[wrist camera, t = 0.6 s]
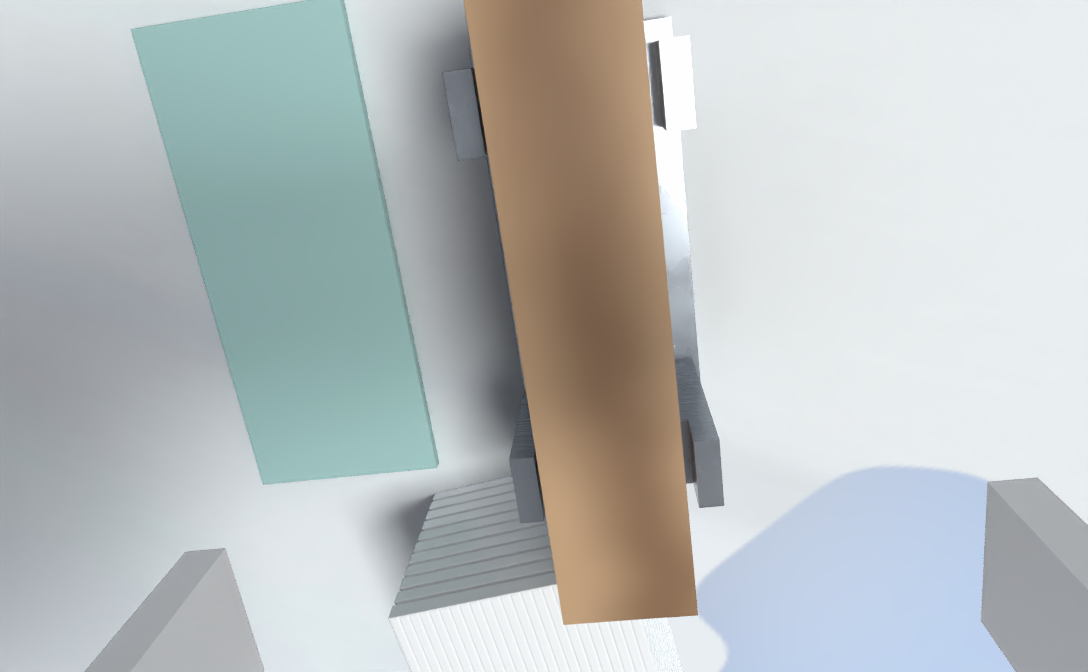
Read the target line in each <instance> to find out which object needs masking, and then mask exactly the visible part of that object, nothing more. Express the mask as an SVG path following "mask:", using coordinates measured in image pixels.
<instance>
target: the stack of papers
mask: <svg viewBox="0 0 1088 672" xmlns="http://www.w3.org/2000/svg"><path fill="white" fill-rule="evenodd" d="M429 510H430V511H429V512H428V514H427V516H426V521H425V522H424V524H423V527H422V531H423V532H420V535H419V538H418V543H416V546H415V548H414V554H412V556H411V559H410V562H409V564H410V566H408V567H407V570H406V572H405V575H404V576H405V579H403V580H402V583H401V586H400V591H401V592H398V594H397V597H396V599H395V602H394V603H395V605H396V606H393V607H392V610H391V613H390V615H389V618H388V619H389V622H390V624H391V626H392V629H393V631H394V633H395V636H396V638H397V640H398V643H399V645H400V647H401V650H402V652H403V655H404V657H405V659H406V662H407V664H408V666H409V669H410V671H411V672H683V670H682V666H681V663H680V659H679V656H678V652H677V649H676V646H675V642H674V639H673V635H672V632H671V628H670V625H669V621H668V618H653V619H639V620H625V621H612V622H598V623H584V624H570V625H563V620H562V613H561V607H560V601H559V595H558V588H557V582H556V576H555V570H554V563H553V557H552V551H551V545H550V538H549V532H548V526H547V520H546V513H545V517H544V521H543V522H531V523H520V518H519V513H518V507H517V501H516V495H515V489H514V484H513V478H512V476H508V477H504V478H500V479H495V480H491V481H487V482H482V483H478V484H474V485H469V486H465V487H461V488H456V489H452V490H448V491H443V492H439V493H435V495H434V497H433V502H432V503H431V506H430V508H429Z"/></svg>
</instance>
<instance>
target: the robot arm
mask: <svg viewBox="0 0 1088 672" xmlns="http://www.w3.org/2000/svg"><path fill="white" fill-rule="evenodd" d="M986 506H987V507H986V526H985V548H984V549H985V550H984V569H983V589H982V611H981V622H982V623H983V624H984V626H985V628H986V629H987V630H988V632H989V633H990V635H991V636H992V638H993V639H994V641H995V642H996V644H997V645H998V646H999V648H1000V649H1001V650H1002V652H1003V654H1004V655H1005V657H1006V658H1007V660H1008V661H1009V663H1010V664H1011V665H1012V667H1013V668H1014V670H1015V671H1016V672H1088V525H1087V524H1086V523H1085V522H1084V521H1083V520H1082V519H1081V518H1080V517H1079V516H1078V515H1076V514H1075V513H1074V512H1073V511H1072V510H1071V509H1070V508H1069V507H1068V506H1067V505H1066V504H1065V503H1064V502H1063V501H1062V500H1061V499H1060V498H1059V497H1057V496H1056V495H1055V494H1054V493H1053V492H1052V491H1051V490H1050V489H1049V488H1048V487H1047V486H1046V485H1045V484H1044V483H1043V482H1042V481H1041V480H1039V479H1038V478H1027V479H1015V480H1004V481H992V482H988V484H987V505H986ZM85 672H264V667H263V664H262V661H261V658H260V655H259V652H258V649H257V646H256V642H255V639H254V636H253V633H252V630H251V627H250V624H249V621H248V617H247V614H246V611H245V608H244V605H243V602H242V599H241V596H240V593H239V589H238V586H237V583H236V580H235V577H234V574H233V571H232V568H231V564H230V561H229V558H228V555H227V552H226V549H225V548H223V549H212V550H200V551H189V552H185V553H184V554H183V555H182V557H181V558H180V559H179V560H178V561H177V563H176V564H175V565H174V566H173V567H172V568H171V570H170V571H169V572H168V573H167V574H166V576H165V577H164V578H163V579H162V580H161V582H160V583H159V584H158V585H157V586H156V587H155V589H154V590H153V591H152V592H151V593H150V595H149V596H148V597H147V598H146V599H145V601H144V602H143V603H142V604H141V605H140V606H139V608H138V609H137V610H136V611H135V612H134V614H133V615H132V616H131V617H130V618H129V620H128V621H127V622H126V623H125V624H124V625H123V627H122V628H121V629H120V630H119V631H118V633H117V634H116V635H115V636H114V637H113V639H112V640H111V641H110V642H109V643H108V644H107V646H106V647H105V648H104V649H103V650H102V652H101V653H100V654H99V655H98V656H97V658H96V659H95V660H94V661H93V662H92V663H91V665H90V666H89V667H88V668H87V669H86V671H85Z"/></svg>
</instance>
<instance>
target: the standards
mask: <svg viewBox="0 0 1088 672" xmlns="http://www.w3.org/2000/svg"><path fill="white" fill-rule="evenodd" d="M644 31H645V42H646V53H647V64H648V75H649V86H650V96H651V107H652V118H653V129H654V140H655V151H656V162H657V173H658V184H659V195H660V206H661V217H662V228H663V239H664V250H665V261H666V272H667V283H668V293H669V304H670V315H671V326H672V337H673V348H674V359H675V370H676V381H677V392H678V403H679V414H680V425H681V436H682V447H683V458H684V469H685V479H686V483H694V487H695V492H696V496H697V500H698V504H699V508H704V507H715V506H724V497H723V484H722V470H721V457H720V443H719V437H718V434H717V431H716V428H715V425H714V422H713V419H712V416H711V413H710V410H709V407H708V404H707V401H706V398H705V395H704V392H703V389H702V386H701V383H700V372H699V360H698V347H697V335H696V323H695V310H694V298H693V285H692V273H691V261H690V248H689V236H688V223H687V211H686V199H685V186H684V174H683V162H682V149H681V137H680V130H685V129H693V128H696V119H695V106H694V92H693V79H692V65H691V52H690V38H689V36H683V37H676V38H672V25H671V17H667V18H660V19H653V20H647V21H644ZM469 51H470V57H471V63H472V68H469V69H462V70H456V71H449V72H443V78H444V84H445V90H446V96H447V101H448V107H449V113H450V119H451V125H452V130H453V136H454V142H455V148H456V153H457V159H458V161H459V160H467V159H474V158H481V157H487V163H488V169H489V175H490V181H491V188H492V194H493V200H494V206H495V213H496V219H497V225H498V231H499V237H500V244H501V250H502V256H503V262H504V269H505V275H506V281H507V287H508V293H509V300H510V306H511V312H512V318H513V325H514V331H515V337H516V343H517V350H518V356H519V362H520V368H521V374H522V381H523V387H524V394H523V399H522V403H521V408H520V413H519V417H518V422H517V427H516V431H515V436H514V441H513V445H512V450H511V455H510V459H509V460H510V466H511V472H512V478H513V484H514V489H515V495H516V501H517V507H518V513H519V518H520V523H531V522H543V521H544V517H545V507H544V501H543V495H542V488H541V482H540V476H539V470H538V463H537V457H536V451H535V445H534V438H533V432H532V426H531V419H530V413H529V407H528V401H527V394H526V388H525V382H524V376H523V369H522V363H521V357H520V351H519V344H518V338H517V332H516V326H515V319H514V313H513V307H512V301H511V294H510V288H509V282H508V276H507V269H506V263H505V257H504V251H503V244H502V238H501V232H500V226H499V219H498V213H497V207H496V201H495V194H494V188H493V182H492V175H491V169H490V163H489V157H488V150H487V144H486V138H485V132H484V125H483V119H482V113H481V107H480V100H479V94H478V88H477V82H476V75H475V69H474V63H473V57H472V50H471V47H470V48H469Z"/></svg>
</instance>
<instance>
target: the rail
mask: <svg viewBox="0 0 1088 672" xmlns="http://www.w3.org/2000/svg"><path fill="white" fill-rule="evenodd" d="M464 7H465V13H466V19H467V25H468V32H469V38H470V44H471V50H472V57H473V63H474V69H475V75H476V82H477V88H478V94H479V100H480V107H481V113H482V119H483V125H484V132H485V138H486V144H487V150H488V157H489V163H490V169H491V175H492V182H493V188H494V194H495V201H496V207H497V213H498V219H499V226H500V232H501V238H502V244H503V251H504V257H505V263H506V269H507V276H508V282H509V288H510V294H511V301H512V307H513V313H514V319H515V326H516V332H517V338H518V344H519V351H520V357H521V363H522V369H523V376H524V382H525V388H526V394H527V401H528V407H529V413H530V419H531V426H532V432H533V438H534V445H535V451H536V457H537V463H538V470H539V476H540V482H541V488H542V495H543V501H544V507H545V513H546V520H547V526H548V532H549V538H550V545H551V551H552V557H553V563H554V570H555V576H556V582H557V588H558V595H559V601H560V607H561V613H562V620H563V625H570V624H584V623H598V622H612V621H625V620H639V619H653V618H667V617H680V616H694V615H698V611H697V600H696V589H695V578H694V567H693V556H692V545H691V534H690V523H689V512H688V501H687V490H686V479H685V469H684V458H683V447H682V436H681V425H680V414H679V403H678V392H677V381H676V370H675V359H674V348H673V337H672V326H671V315H670V304H669V293H668V283H667V272H666V261H665V250H664V239H663V228H662V217H661V206H660V195H659V184H658V173H657V162H656V151H655V140H654V129H653V118H652V107H651V96H650V86H649V75H648V64H647V53H646V42H645V31H644V20H643V9H642V0H464Z"/></svg>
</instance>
